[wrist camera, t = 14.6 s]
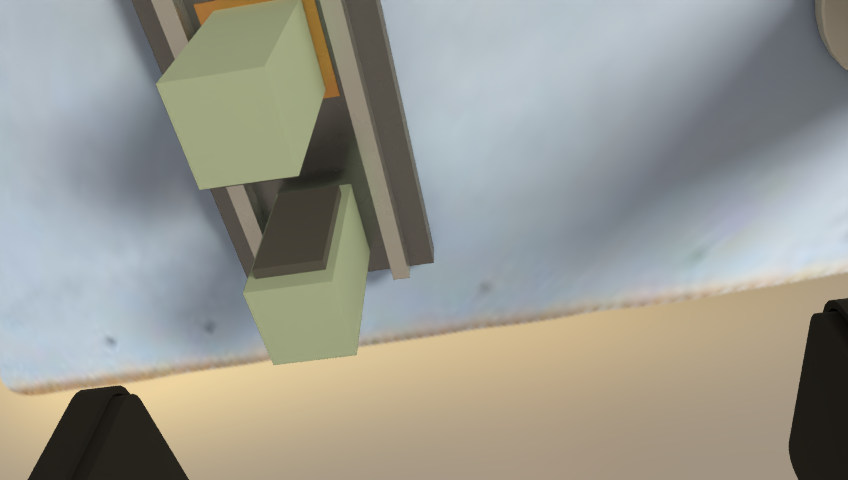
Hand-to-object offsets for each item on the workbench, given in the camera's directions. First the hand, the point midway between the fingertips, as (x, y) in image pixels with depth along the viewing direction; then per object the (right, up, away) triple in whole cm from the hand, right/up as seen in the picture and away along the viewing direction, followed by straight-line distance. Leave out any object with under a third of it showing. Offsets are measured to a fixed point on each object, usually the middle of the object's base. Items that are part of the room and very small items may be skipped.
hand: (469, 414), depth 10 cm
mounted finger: (-7, +4, +33) cm, 34 cm away
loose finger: (-9, +12, +27) cm, 31 cm away
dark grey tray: (-8, +9, +31) cm, 33 cm away
